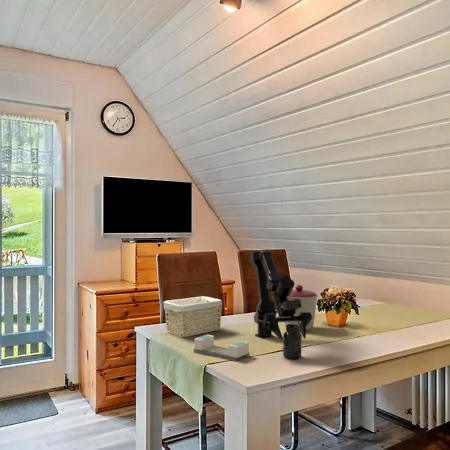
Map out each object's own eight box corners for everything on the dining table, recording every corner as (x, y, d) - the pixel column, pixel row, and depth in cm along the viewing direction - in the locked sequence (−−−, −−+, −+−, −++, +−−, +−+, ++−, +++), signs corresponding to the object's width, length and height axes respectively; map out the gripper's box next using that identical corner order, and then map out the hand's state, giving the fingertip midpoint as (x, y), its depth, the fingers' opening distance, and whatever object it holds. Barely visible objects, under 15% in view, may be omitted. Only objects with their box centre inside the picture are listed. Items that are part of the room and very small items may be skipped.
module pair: (194, 348, 168) (194, 338, 168) (206, 344, 175) (207, 334, 175) (237, 357, 157) (237, 346, 157) (248, 352, 163) (248, 341, 163)
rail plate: (193, 352, 168) (193, 349, 168) (207, 346, 175) (207, 344, 175) (236, 361, 156) (236, 358, 156) (249, 355, 164) (249, 352, 164)
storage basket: (181, 339, 188) (181, 305, 188) (161, 332, 200) (162, 300, 200) (223, 331, 203) (224, 299, 203) (203, 325, 215) (203, 295, 215)
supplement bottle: (279, 357, 161) (279, 325, 161) (290, 353, 166) (290, 322, 166) (294, 361, 156) (294, 328, 157) (305, 357, 161) (305, 325, 161)
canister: (321, 326, 212) (322, 283, 212) (313, 335, 196) (313, 288, 196) (286, 323, 220) (286, 281, 220) (275, 330, 203) (275, 286, 203)
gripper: (264, 292, 164) (275, 328, 153) (310, 291, 168) (323, 325, 157) (258, 309, 171) (267, 344, 160) (302, 307, 176) (313, 341, 165)
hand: (293, 338), depth 160 cm, fingers open, 9 cm apart
